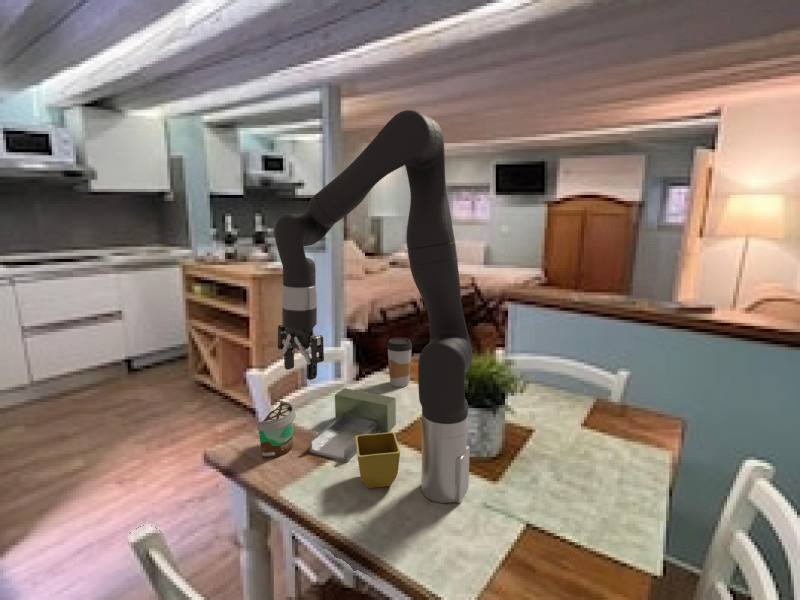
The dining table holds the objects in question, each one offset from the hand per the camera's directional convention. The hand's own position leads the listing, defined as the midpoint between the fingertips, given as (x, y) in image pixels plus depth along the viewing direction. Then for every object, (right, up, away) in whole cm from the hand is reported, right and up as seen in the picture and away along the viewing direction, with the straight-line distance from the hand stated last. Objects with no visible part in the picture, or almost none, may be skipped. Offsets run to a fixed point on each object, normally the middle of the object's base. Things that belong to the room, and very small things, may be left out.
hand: (300, 373), depth 102 cm
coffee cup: (+23, -11, +47) cm, 53 cm away
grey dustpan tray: (+10, -18, +13) cm, 25 cm away
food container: (-6, -20, +7) cm, 22 cm away
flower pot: (+18, -23, -6) cm, 29 cm away
